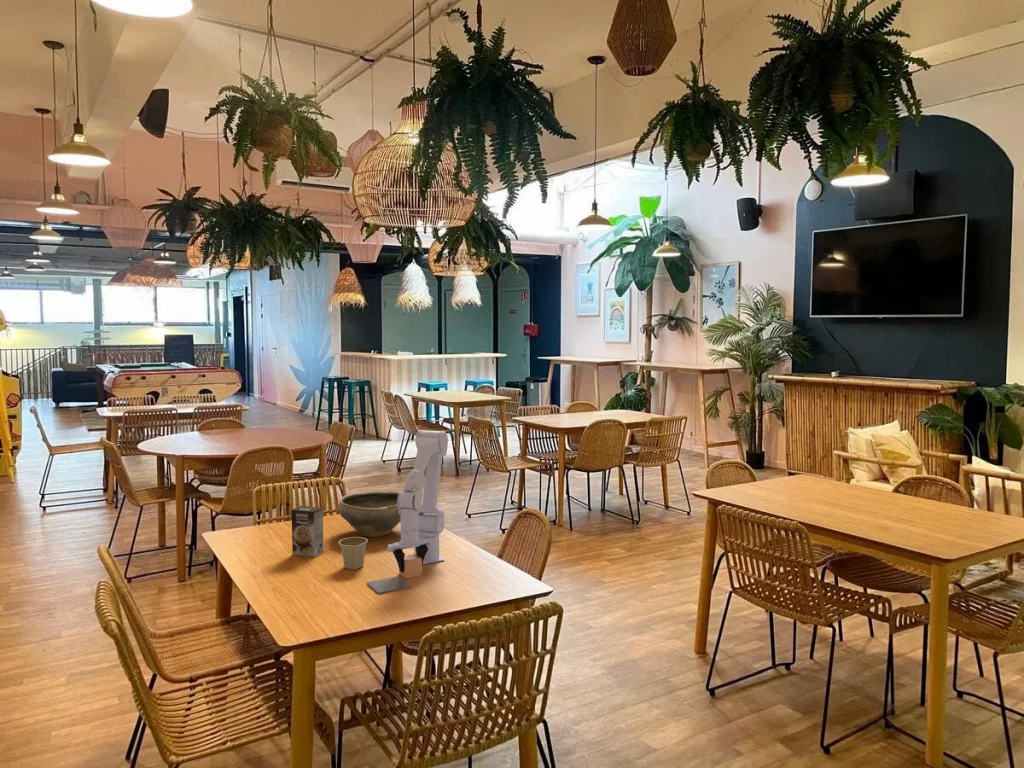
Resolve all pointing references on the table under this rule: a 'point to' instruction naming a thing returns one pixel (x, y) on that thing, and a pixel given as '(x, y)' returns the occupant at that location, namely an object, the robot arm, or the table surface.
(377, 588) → the slate coaster
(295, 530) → the coffee box
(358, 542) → the flower pot
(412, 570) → the painted block
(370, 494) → the bowl
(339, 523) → the table surface
